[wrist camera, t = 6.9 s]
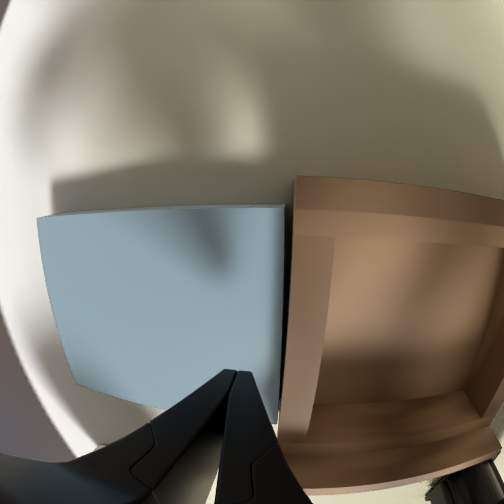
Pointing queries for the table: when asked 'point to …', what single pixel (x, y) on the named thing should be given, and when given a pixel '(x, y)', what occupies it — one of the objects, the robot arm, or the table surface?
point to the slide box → (391, 334)
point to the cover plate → (168, 297)
